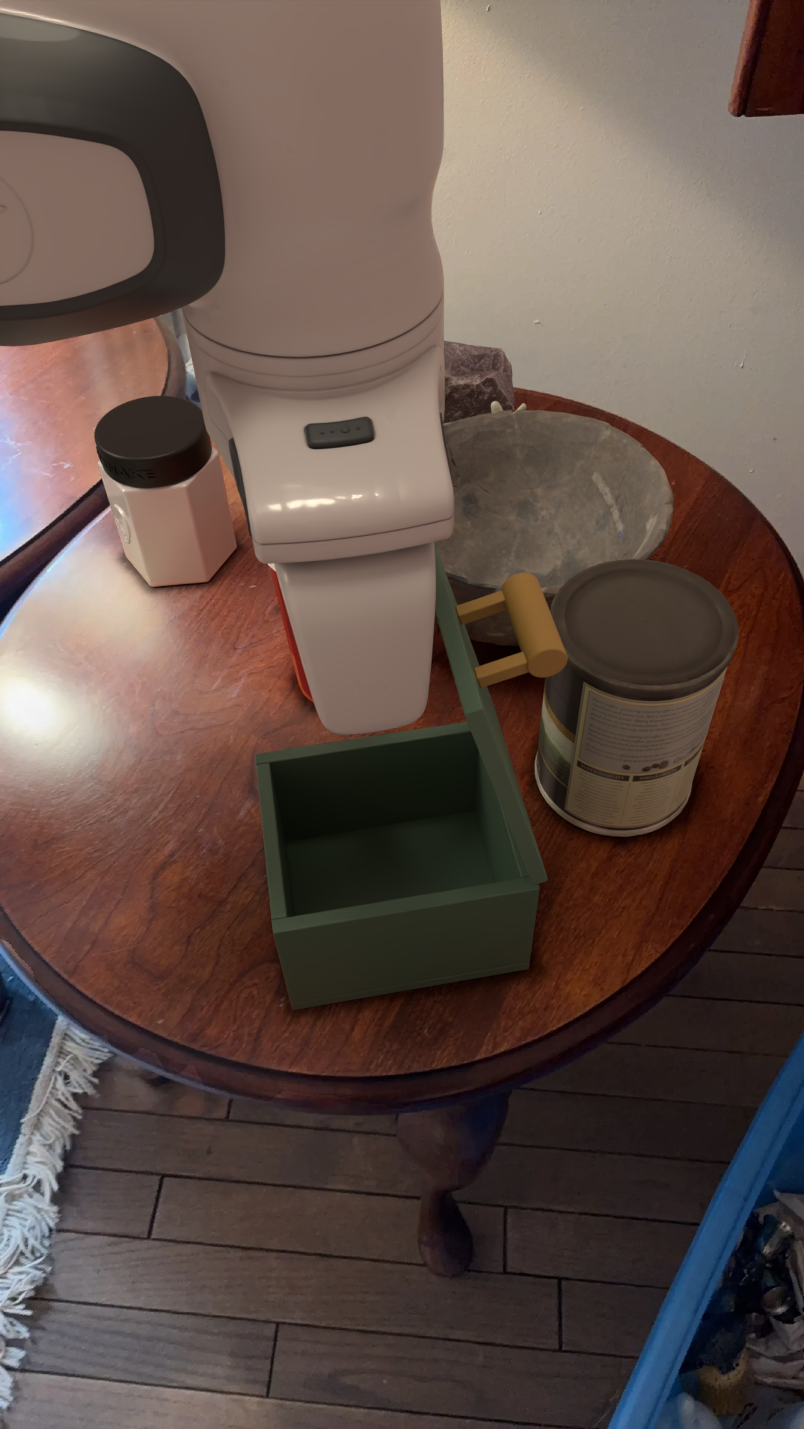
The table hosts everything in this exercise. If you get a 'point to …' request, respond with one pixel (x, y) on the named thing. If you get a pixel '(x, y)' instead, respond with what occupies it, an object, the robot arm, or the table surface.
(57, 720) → the table surface
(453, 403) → the rock
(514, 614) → the lid
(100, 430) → the jar
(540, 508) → the bowl
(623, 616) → the coffee can
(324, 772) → the chest
